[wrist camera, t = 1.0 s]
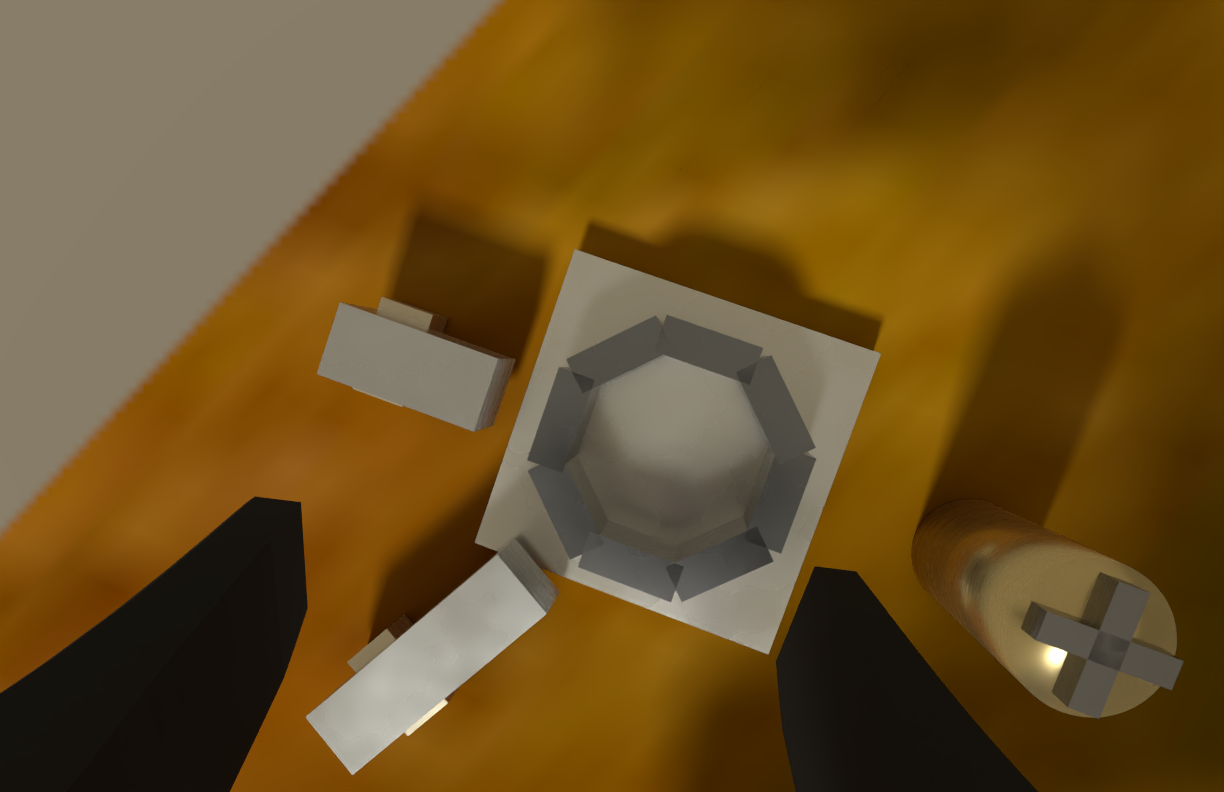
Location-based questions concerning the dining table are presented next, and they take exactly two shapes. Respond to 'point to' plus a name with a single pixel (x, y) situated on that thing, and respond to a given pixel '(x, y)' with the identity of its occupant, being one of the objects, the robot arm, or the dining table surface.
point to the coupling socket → (606, 473)
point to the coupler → (1049, 608)
